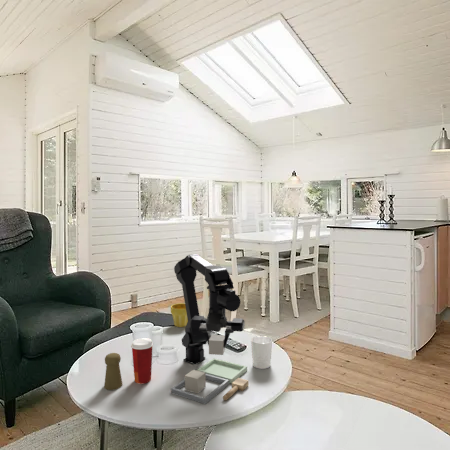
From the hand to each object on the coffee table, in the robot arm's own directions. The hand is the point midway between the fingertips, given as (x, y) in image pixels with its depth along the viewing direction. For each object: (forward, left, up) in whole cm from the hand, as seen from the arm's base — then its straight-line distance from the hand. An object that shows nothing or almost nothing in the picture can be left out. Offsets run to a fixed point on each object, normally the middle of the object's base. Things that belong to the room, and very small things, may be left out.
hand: (217, 346), depth 136 cm
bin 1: (-1, -10, -11) cm, 15 cm away
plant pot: (-46, +39, -11) cm, 61 cm away
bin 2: (-1, +4, -11) cm, 12 cm away
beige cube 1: (0, 0, -2) cm, 2 cm away
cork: (-28, -23, -11) cm, 38 cm away
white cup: (+9, +17, -11) cm, 23 cm away
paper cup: (-22, -15, -11) cm, 29 cm away
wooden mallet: (+10, -6, -11) cm, 16 cm away
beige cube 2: (-2, -10, -11) cm, 15 cm away
